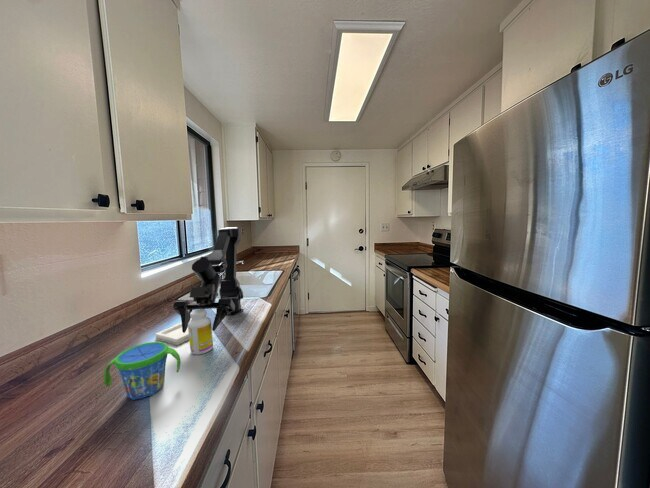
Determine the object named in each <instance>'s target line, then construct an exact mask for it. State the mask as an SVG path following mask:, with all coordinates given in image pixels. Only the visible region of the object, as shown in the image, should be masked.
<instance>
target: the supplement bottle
mask: <svg viewBox="0 0 650 488" xmlns="http://www.w3.org/2000/svg"><path fill="white" fill-rule="evenodd" d="M207 314H208V312H207V309H196V310H192V312H191V313H190V317H191V318H190V321H189V323H188V332H189V341H188V342H189V348H190V353H191V354H193V355H203V354H207V353H208V352H210V351H211V350H212V349H213V347H214V340H213V330H212V328H213V327H212V320H211V318H210V317H209V316H207Z"/></svg>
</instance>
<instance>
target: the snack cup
mask: <svg viewBox="0 0 650 488" xmlns="http://www.w3.org/2000/svg"><path fill="white" fill-rule="evenodd" d="M168 354H169V355H171V356H172V357H173V358H174V359H175V360H176V373H179V370H180V368H181V357H180V354H179V352H178V351H177V350H176V349H175V348H172V347H170V346H168V344H167V342H164V341H151V342H145V343H141V344H138V345H134V346H132V347H130V348H127V349H125V350H123V351H122V352H121V353H119V354H118V355H117V356H115V358H113V359H112V360H111V361H110V362H109V363H108V364H107V366H106V367H105V368H104V370H103V371H104V373H103V382H104V385H105V386H106V387H110V386H111V385H112V383H113V378H112V375H111V373H110V368H111V366H112V364H114V365H115V368H117V370H118V372H119V376H120V378H121V382H122V385H123V388H124V390H125V391H124V392H125V393H126V395H127V397H128V399H131V400H133V401H134V400H140V399H143V398H144V399H145V398H146V397H151V396H152V397H153V395H155V393H157V392H159V391H160V389H162V387H164V385H165V377H166V364H167V358H168Z"/></svg>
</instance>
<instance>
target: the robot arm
mask: <svg viewBox="0 0 650 488" xmlns="http://www.w3.org/2000/svg"><path fill="white" fill-rule="evenodd" d="M242 233H243V232H242V229H241V228H239V226H234V227H233V226H232V227H231V226H230V227H222V228H221V227H220V228H218V230H217V234H218V235H217V236H216V237H217V238H216V241H215V244H214V246H213V250H212V252H210V253H209V254H207V256H202V255H201V256H200V258H199V259H197V260H195V261H194V263H192V265H191V269H192V271H193V273H194V275H196V276H197V278H198V279H199V280H200V281H201V285H200V286H191V287H190V291H189V298H190V299H191V298H192V300H193V302H196V303H190V302H189V301H188V300H187V299H185V300H184V299H183V300H175V301H174V302H173V304H172V306H171V309H172V310H173V311H174V312H175V313H177V314H178V316H179V315H180V319H181V323H182V332H183V333H185V332H186V330H187V327H188V323H189V321H190V320H191V317H190V313H191V312H192V311H195V310H200V309H205V310H208V309H209V310H210V309H211V310H212V309H216V310H215V311H216V312H215V316H214V320H213V324H212V327H211V328H212V332H215V331H216V330H217V328H218V327H219V325H220V324H221V322H223V320H224V319H225V317H227V315H229V316H231V315H232V316H235V315H237V314H239V313H241V312H243V311H244V308H242V306H241V303H242V302H241V300H242V299H243V300H244V291H243V290H242V287H241V286H240V285H241V284H240V282H239V280H238V278H237V257H238V256H237V249H238V245H239V244H240V242H241V238H242V237H243V236H242V235H243V234H242ZM221 273H222V274H223V273H224V278H223V280H222V279H221V275H220V274H221ZM218 291H219V293H218ZM218 296H220V298H219V299H218V301H216V299H217V297H218Z"/></svg>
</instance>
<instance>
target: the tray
mask: <svg viewBox="0 0 650 488" xmlns="http://www.w3.org/2000/svg"><path fill="white" fill-rule="evenodd" d="M155 339H156V340H158V341H160V342H164V343H169V344H172V345H175V346H179V345H180V344H182V343H185V342H187V341H188V340H189V332H188V327H187V330H186V332H185V333H183V332H182V322H180V323H178V324H175V325H173V326H171V327H168V328H166V329H162V330H161V331H159V332H156V333H155Z"/></svg>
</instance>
